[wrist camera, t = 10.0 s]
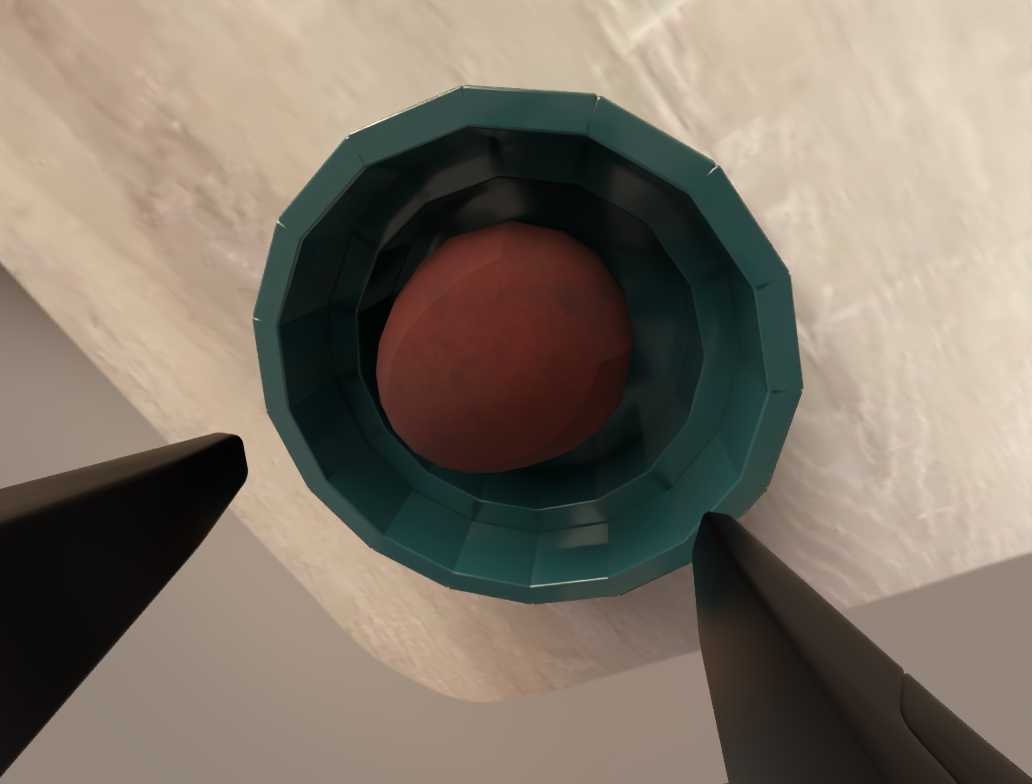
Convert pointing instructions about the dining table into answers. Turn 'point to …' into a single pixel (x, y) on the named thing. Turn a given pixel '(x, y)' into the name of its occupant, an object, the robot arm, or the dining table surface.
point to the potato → (504, 349)
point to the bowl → (652, 367)
